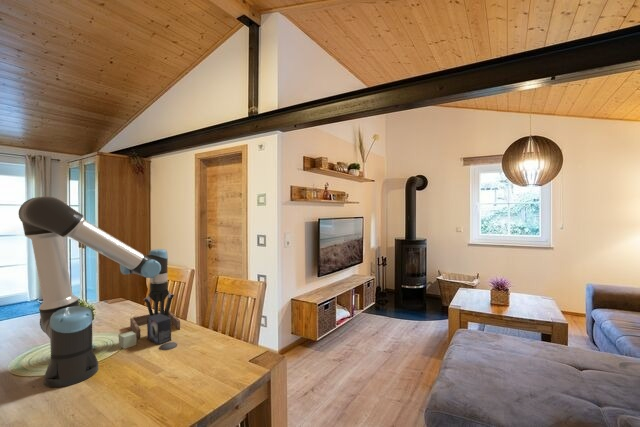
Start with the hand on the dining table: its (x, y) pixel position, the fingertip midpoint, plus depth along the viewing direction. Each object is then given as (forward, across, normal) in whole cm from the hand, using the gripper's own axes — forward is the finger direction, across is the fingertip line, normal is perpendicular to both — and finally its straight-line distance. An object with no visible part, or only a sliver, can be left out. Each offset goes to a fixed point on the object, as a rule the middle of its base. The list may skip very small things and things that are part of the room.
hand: (159, 330), depth 145 cm
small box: (+2, +2, +7) cm, 7 cm away
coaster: (+2, 0, +17) cm, 17 cm away
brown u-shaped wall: (+2, 0, -10) cm, 10 cm away
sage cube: (+2, +14, +4) cm, 14 cm away
